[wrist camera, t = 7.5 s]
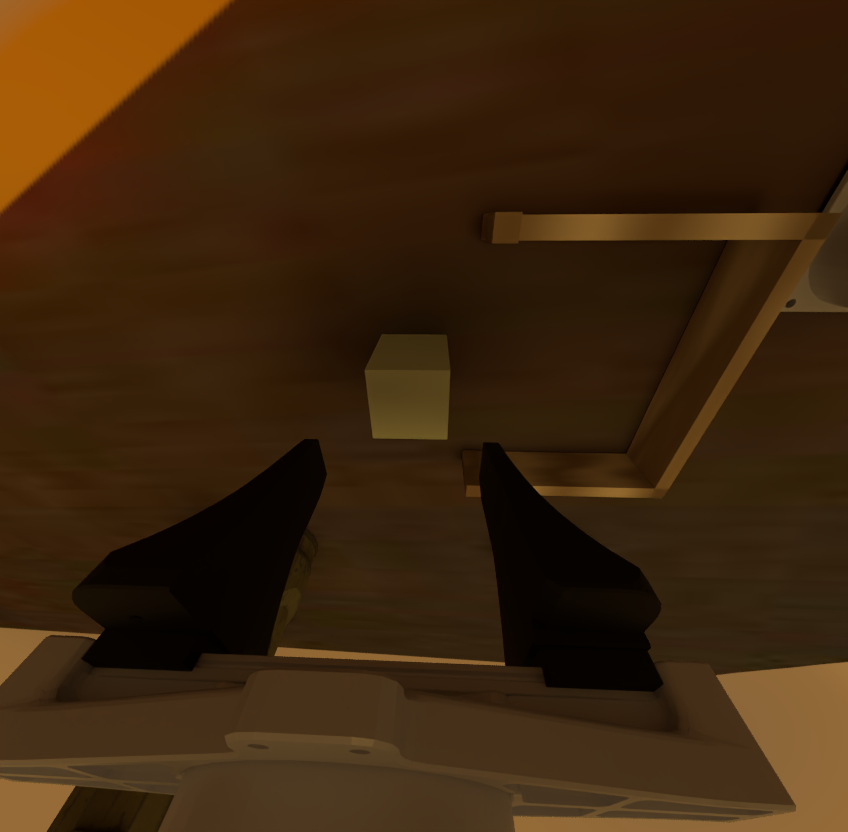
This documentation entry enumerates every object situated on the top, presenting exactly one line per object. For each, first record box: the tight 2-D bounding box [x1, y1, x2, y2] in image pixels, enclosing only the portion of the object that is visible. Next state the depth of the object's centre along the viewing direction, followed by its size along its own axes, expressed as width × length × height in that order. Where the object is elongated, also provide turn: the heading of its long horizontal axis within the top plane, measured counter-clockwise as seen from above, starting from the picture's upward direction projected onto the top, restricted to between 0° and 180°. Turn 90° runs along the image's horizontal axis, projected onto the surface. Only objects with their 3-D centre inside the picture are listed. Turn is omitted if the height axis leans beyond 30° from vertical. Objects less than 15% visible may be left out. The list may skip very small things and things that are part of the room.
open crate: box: [462, 212, 842, 498], centre depth 20 cm, size 15×18×4 cm
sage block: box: [365, 334, 450, 439], centre depth 19 cm, size 4×4×6 cm
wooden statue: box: [47, 529, 318, 832], centre depth 20 cm, size 9×12×35 cm
